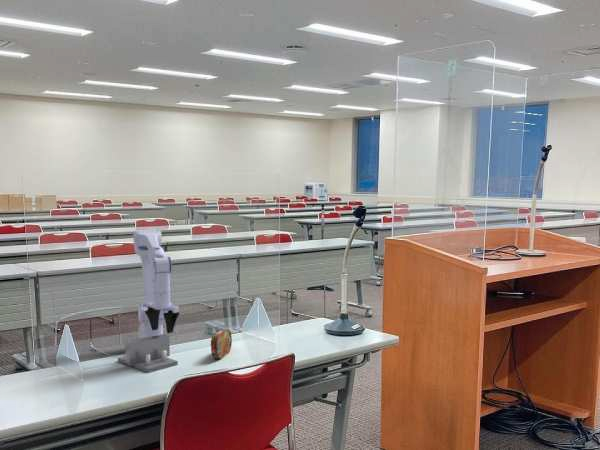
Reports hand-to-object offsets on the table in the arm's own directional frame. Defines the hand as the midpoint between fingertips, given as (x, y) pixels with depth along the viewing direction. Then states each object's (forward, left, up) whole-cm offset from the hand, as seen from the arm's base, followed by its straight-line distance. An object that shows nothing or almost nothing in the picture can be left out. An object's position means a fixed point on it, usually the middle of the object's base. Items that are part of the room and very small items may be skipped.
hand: (162, 331), depth 184 cm
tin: (+13, +15, -10) cm, 22 cm away
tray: (+1, -7, -9) cm, 12 cm away
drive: (+1, -7, -8) cm, 11 cm away
